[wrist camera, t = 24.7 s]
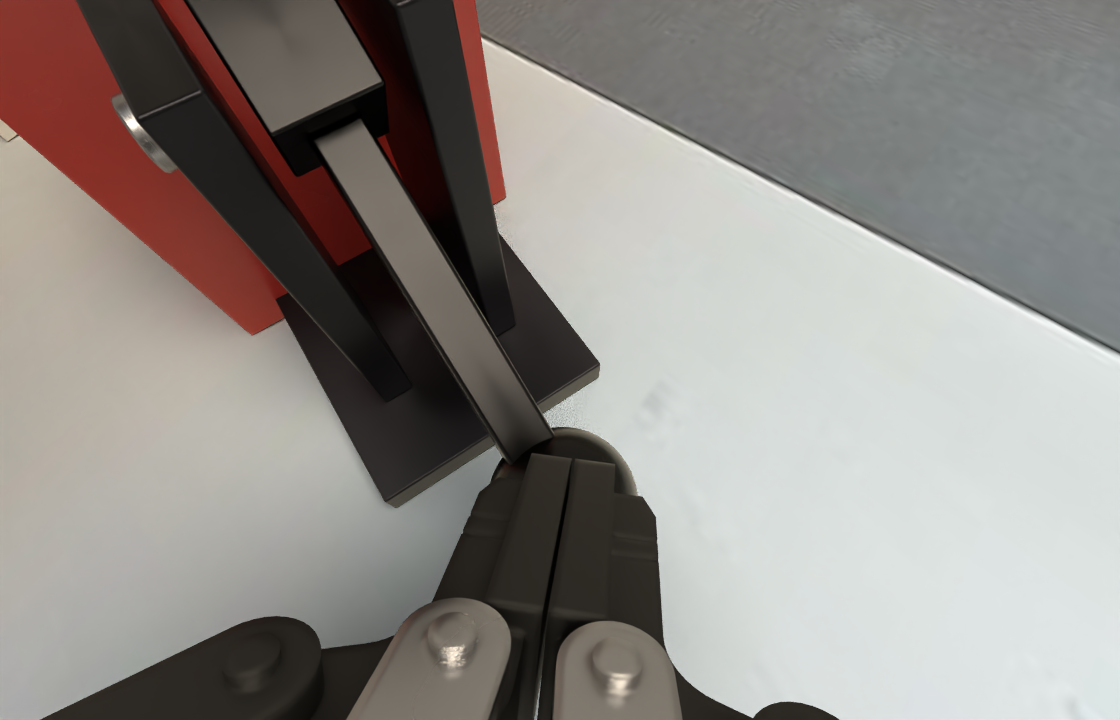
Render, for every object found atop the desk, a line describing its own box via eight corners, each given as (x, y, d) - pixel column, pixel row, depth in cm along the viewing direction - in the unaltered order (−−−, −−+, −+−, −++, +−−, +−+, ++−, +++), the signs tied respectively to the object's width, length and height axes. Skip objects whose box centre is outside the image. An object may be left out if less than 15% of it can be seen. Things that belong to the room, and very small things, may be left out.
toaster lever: (630, 502, 14) (692, 543, 11) (523, 578, 14) (556, 645, 10) (342, 12, 12) (319, -100, 9) (201, 73, 12) (126, -27, 9)
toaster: (507, 197, 23) (447, -187, 12) (251, 336, 21) (-119, 19, 10) (393, 57, 27) (264, -344, 15) (163, 162, 24) (-185, -220, 13)
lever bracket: (599, 377, 20) (638, 44, 8) (396, 509, 18) (80, 326, 7) (456, 190, 23) (340, -233, 12) (274, 287, 22) (-77, -94, 10)
